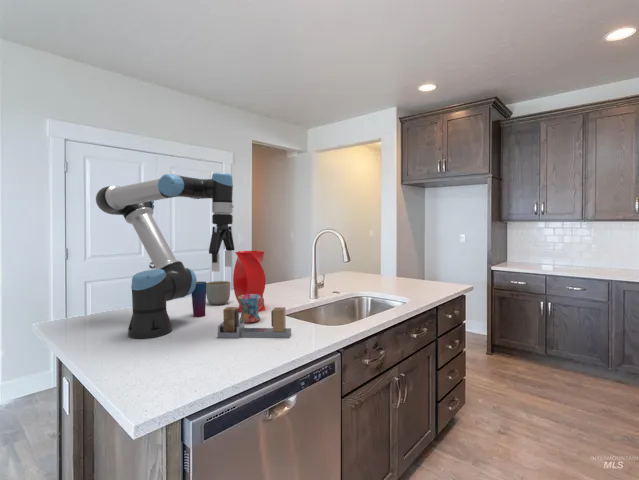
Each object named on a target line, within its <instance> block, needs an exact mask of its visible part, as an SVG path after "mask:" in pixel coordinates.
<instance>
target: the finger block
mask: <svg viewBox="0 0 639 480" xmlns="http://www.w3.org/2000/svg"><path fill="white" fill-rule="evenodd" d="M222 310H223V311H222V313H223V322H224V331H236V330H237V326H238V325H239V324H240V314H239V313H240V312H239V309H238V307H237V306H227V307H224V309H222Z"/></svg>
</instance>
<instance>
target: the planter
mask: <svg viewBox="0 0 639 480" xmlns="http://www.w3.org/2000/svg"><path fill="white" fill-rule="evenodd" d="M230 297H231V282H230V281H227V280H215V281H208V282H207V284H206V302H208V303H209V304H211V305H212V306H222V305H225V304H227V303H228V302H229V300H230Z"/></svg>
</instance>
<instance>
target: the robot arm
mask: <svg viewBox="0 0 639 480" xmlns="http://www.w3.org/2000/svg"><path fill="white" fill-rule="evenodd" d="M211 175H212V176H211V178H195V177H189V176H185V175H184V176H183V175H178V174H175V173H172V174H169V173H164V174H163V175H162V176H161V177H160V178H157V179H151V180H148V181H143V182H142V181H141V182H138V183H133V184H127V185H122V186H119V185H116V184H114V185H108V186H104V187H102V188H100V189H99V190H98V191H97V193H96V196H95V202H96V205H97V207H98V208H99V209H100V211H102V212H104V213H106V214H109V215H112V216H113V215H117V216H123V218H124V220H125V222H126V223H127V224H130V225H132V227H133V228H134V231H135V233H136V234H137V236H138V238H139V240H140V242H141V244H142V245H143V247H144V249H145V251H146V253H147V254H148V257H149V258H150V260H151V262H152V264H153V266H154V268H155V269H149V270H142V271H140V272H136V274H134V275H133V276H132V277H131V286H130V287H131V300H132V301H131V303H132V306H131V308H132V315H131V319H130V322H129V324H128V327H127V337H130V338H132V339H150V338H157V337H162V336H164V335H168V334H169V333H170V332H172V330H173V325H172V321H171V319H170V316H169V314H168V311H167V302H169V301H173V300H176V299H181V298H185V297H188V296H190V295H192V294H191V293H192V292H193V291H194V290H195V287H196V283H197V282H198V280H197V275H196V273H195V271H194V270H193V269H190V268H188V267H185V265H184V263H183V261H180V260H177V259H176V257H175V256H174V254H173V252H172V249H171V248H170V245H169V244H168V242H167V241H166V238H165V236H164V235H163V234H162V232H161V230H160V228H159V226H158V225H157V222H156V221H155V219H154V217H153V215H154V209H155V205H154V204H155V201H160V200H164V199H171V198H190V199H194V200H196V199H197V200H199V199H202V200H204V199H211V200H212V202H211V203H212V204H211V213H212V216H211V217H212V218H211V222H212V224H214V225H216V226H212V233H211V237H210V243H209V248H208V254H211V272H215V273H216V272H217V273H218V272H220V271H221V270H220V268H221V267H220V265H221V264H220V259H221V256H220V253H219V252H220V249H221V247H222V246H221V245H222V243H223V245H224V248H225V250H224V267H226V268H227V267H229V268H230V267H231V268H232V267H233V251H235V245H234V237H233V230H232V226H231V225H233V217H234V216H233V208H234V207H235V206H234V205H233V193H234V191H233V190H234V184H233V183H234V182H233V176H232V174H231V173H228V172H214V173H212V174H211Z"/></svg>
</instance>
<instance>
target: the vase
mask: <svg viewBox="0 0 639 480" xmlns="http://www.w3.org/2000/svg"><path fill="white" fill-rule="evenodd" d="M234 254H236V256H237V258H236V260H235V264H234V270H233V275H232V285H233V293H234V296H235V298H236V300H237V303H238V307H237V309H239V313H242V308H241V303H240V300H239V298H238V297H239V296H241V295H246V294H257V295H260V296H261V297H262V298H264V292H265V288H266V275H265V274H266V273H265V271H264V269H263V263H264V262H263V261H264V255H265V251H263V250H237V251H234ZM262 298H260V299H259V303H258V308H259V307H260V306H261V304H262V302H263V299H262ZM264 311H266V306H265V302H264V303H263V305H262V307H261V308H260V309H259V310H258V313H260V312H264Z"/></svg>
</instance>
